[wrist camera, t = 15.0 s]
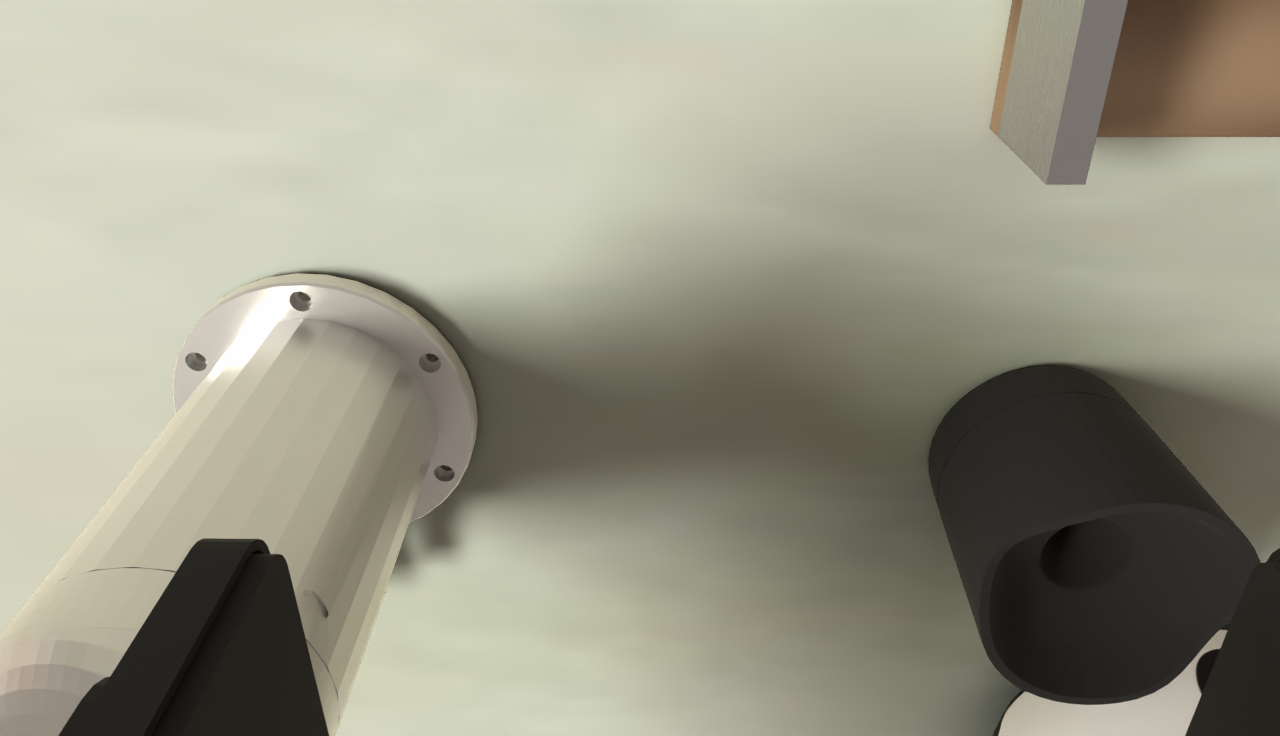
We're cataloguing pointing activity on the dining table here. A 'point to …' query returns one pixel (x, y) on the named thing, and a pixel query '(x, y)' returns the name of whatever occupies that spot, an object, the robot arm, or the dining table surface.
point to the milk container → (1117, 708)
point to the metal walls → (1060, 84)
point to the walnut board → (1185, 70)
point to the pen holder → (1081, 538)
